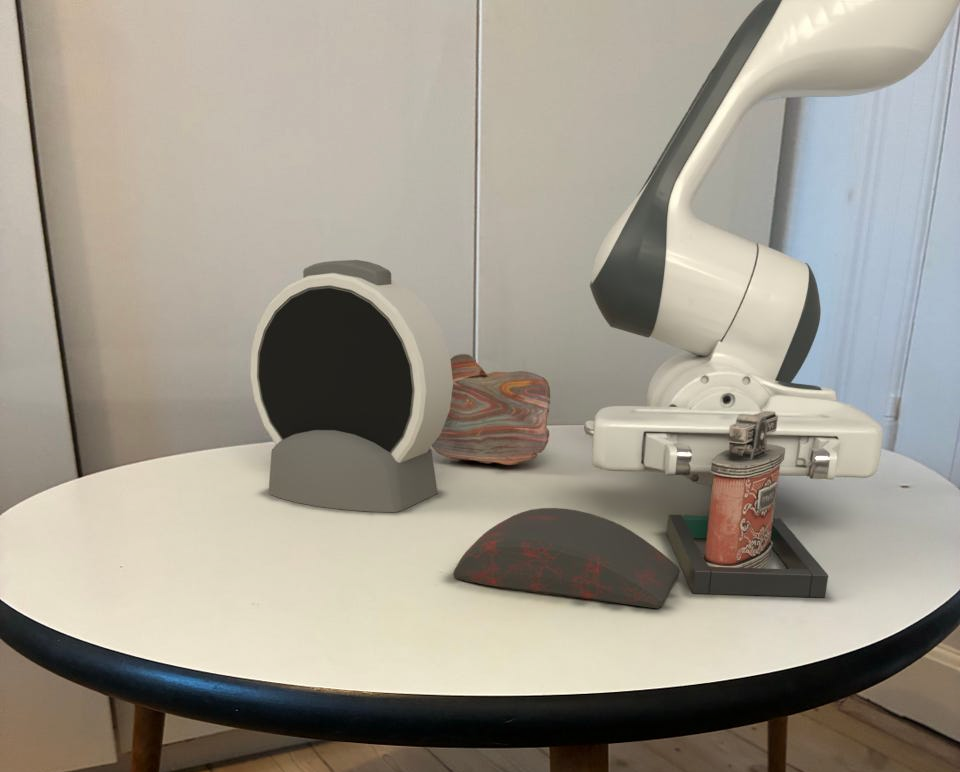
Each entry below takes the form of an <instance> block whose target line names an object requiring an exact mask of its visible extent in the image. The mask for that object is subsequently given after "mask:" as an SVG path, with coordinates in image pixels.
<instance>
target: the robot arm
mask: <svg viewBox="0 0 960 772" xmlns="http://www.w3.org/2000/svg"><path fill="white" fill-rule="evenodd" d="M959 5H960V0H761V1H760V2H759V3H757V5H756V6H755V7H754V8H753V9H752V10H751V11H750V12H749V14H748V15H747V16H746V18H745V19H744V20H743V21H742V23H741V24H740V25H739V27H738V28H737V30H736V31H735V32H734V34H733V36H732V37H731V39H730V40H729V42H728V44H727V45H726V47H725V48H724V50H723V52H722V54H721V55H720V56H719V58H718V60H717V61H716V63H715V65H714V66H713V67H712V69H711V70H710V72H709V73H708V74H707V76H706V78H705V79H704V81H703V83H702V84H701V85H700V88H699V89H698V92H697V93H696V95H695V96H694V98H693V100H692V102H691V103H690V104H689V106H688V108H687V109H686V111H685V113H684V116H683V117H682V118H681V120H680V122H679V124H678V125H677V127H676V129H675V130H674V132H673V133H672V136H671V137H670V139H669V141H668V142H667V144H666V145H665V148H664V149H663V151H662V152H661V154H660V156H659V158H658V159H657V160H656V163H655V165H654V166H653V167H652V170H651V172H650V174H649V175H648V177H647V179H646V181H645V182H644V184H643V186H642V187H641V189H640V190H639V192H638V194H637V195H636V197H635V198H634V200H633V201H632V202H631V204H629V206H628V207H627V208H626V210H625V211H623V213H622V214H621V215H620V216H619V218H618V219H617V220H616V222H615V223H614V224H613V226H612V227H611V228H610V229H609V231H608V233H607V234H606V236H605V237H604V239H603V241H602V243H601V244H600V247H599V250H598V252H597V254H596V257H595V260H594V262H593V266H592V272H591V280H590V282H589V287H590V291H591V294H592V296H593V299H594V302H595V304H596V306H597V308H598V310H599V312H600V313H601V315H602V317H603V318H604V320H605V321H606V323H607V324H608V326H609V327H610V328H613V329H617V330H620V331H624V332H627V333H630V334H634V335H637V336H641V337H644V338H652V339H654V340H657V341H660V342H663V343H665V344H668V345H670V346H672V347H675V348H678V349H679V350H682V352H680V353H678V354H676V355H674V356H671V357H670V358H668V359H666V361H664V362H663V363H661V365H660V366H659V367H658V368H657V369H656V371H655V372H654V373H653V375H652V377H651V380H650V382H649V385H648V388H647V392H646V398H645V405H643V406H642V405H612V406H605V407H602V408H600V409H599V410H598V411H597V413H595V416H594V420H586V421H585V424H584V426H583V430H584V433H585V436H586V437H588V438H590V439H592V448H591V449H592V451H591V452H592V453H591V464H592V466H593V467H594V468H597V469H599V470H603V471H607V472H609V471H610V472H641V473H643V472H645V473H665V474H666V475H667V476H681V477H684V478H685V479H687V480H689V481H691V482H693V483H695V484H698V485H702V486H707V487H712V485H713V476H714V474H713V473H712V472H711V466H712V459H713V458H714V457H715V456H716V455H718V454H720V453H722V452H724V451H726V450H729V443H730V442H728V437H729V428H730V425H733V424H735V422H736V419H737V417H738V415H740V414H746V415H754V414H757V413H760V412H762V411H772V412H776V414H775V415H777V416H778V421H777V429H776V431H774V432H772V433H770V434H767V435H766V437H767V438H768V439H767V444H771V445H777V446H781V447H784V448H785V455H784V461H783V462H782V463H781V464H780V470H779V477H780V476H784V477H785V476H788V477H809V479H811V480H832V481H833V480H834V479H835V478H855V479H867V478H870V477H872V476H874V475H875V474H877V472H878V468H879V465H880V461H881V455H882V449H883V444H884V443H883V442H884V428H883V426H882V424H881V423H879V421H877V420H876V419H875V418H873V417H872V416H870V415H869V414H867V413H866V412H865V411H862V410H861V409H859V408H858V407H856V406H853V405H852V404H849V403H846V402H843V401H839V400H838V397H837V396H838V395H837V392H836V391H835V390H834V389H832V388H829V387H825V386H818V385H814V384H813V385H812V384H805V383H796V382H793V381H794V379H795V378H796V376H797V375H798V374H799V372H800V370H801V368H802V366H803V365H804V363H805V361H806V359H807V357H808V356H809V353H810V351H811V349H812V347H813V344H814V341H815V339H816V337H817V333H818V330H819V326H820V321H821V313H822V312H821V311H822V309H821V301H820V294H819V288H818V283H817V279H816V277H815V274H814V273H813V270H812V268H811V267H810V265H809V264H808V262H803V261H802V260H799V259H797V258H795V257H792V256H790V255H788V254H786V253H784V252H781V251H780V250H776V249H774V248H772V247H770V246H766V245H764V244H761V243H759V242H754V241H751V240H748V239H746V238H744V237H742V236H739V235H737V234H735V233H732V232H729V231H727V230H726V229H725V230H724V229H722V228H720V227H718V226H716V225H712V224H710V223H707V222H705V221H704V220H701V219H700V218H698V217H697V216H696V215H695V214H694V212H693V210H692V202H693V201H694V199H695V197H696V195H697V194H698V192H699V190H700V189H701V187H702V185H704V184H703V183H705V181H706V179H707V178H708V176H709V174H710V173H711V171H712V170H713V167H714V166H715V164H716V162H718V161H717V160H719V157H720V156H721V155H722V153H723V151H724V150H725V148H726V146H727V144H728V142H729V141H730V139H731V137H732V136H733V134H734V133H735V131H736V129H737V128H738V126H739V125H740V123H741V121H742V120H743V119H744V117H745V116H746V115H747V114H748V112H750V111H751V110H752V109H753V108H755V107H757V106H759V105H761V104H764V103H766V102H769V101H774V100H779V99H780V100H781V99H787V98H789V99H790V98H841V97H842V98H843V97H853V96H859V95H863V94H869V93H872V92H876V91H880V90H884V89H885V88H888V87H891V86H893V85H895V84H897V83H899V82H901V81H903V80H904V79H906V78H907V77H909V76H910V75H912V74H913V73H914V72H916V71H917V70H918V69H919V68H920V67H922V65H924V64H925V63H926V62H927V61H928V59H929V58H930V57H931V55H932V54H933V52H934V50H935V49H936V48H937V46H938V44H939V43H940V41H941V39H942V38H943V36H944V34H946V33H945V32H946V31H947V29H948V27H949V25H950V23H951V21H952V19H953V18H954V16H955V14H956V12H957V10H958V7H959Z"/></svg>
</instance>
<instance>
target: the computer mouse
mask: <svg viewBox="0 0 960 772" xmlns="http://www.w3.org/2000/svg"><path fill="white" fill-rule="evenodd" d="M680 573H681V569H680V568H679V567H678V565H677V564H675V562H674V561H672V560H671V559H670V558H669V557H668V556H666V555H665V554H664V553H662V552H661V551H660V550H659V549H658V548H656V547H655V546H653V545H652V544H651V543H649V542H648V541H646V539H644V538H642V537H641V536H639V535H638V534H637V533H635V532H634V531H632V530H630V529H628V528H627V527H626V526H624V525H621V524H620V523H618V522H615V521H613V520H610V519H607V518H605V517H603V516H599V515H596V514H593V513H590V512H589V513H588V512H586V511H581V510H577V509H571V508H562V507H561V508H560V507H540V508H532V509H528V510H525V511H521V512H519V513H516V514H514V515H512V516H510V517H508V518H505V520H502V521H501V522H499V523H497V524H496V525H494V526H492V527H491V528H490V529H488V530H487V531H485V532H484V533H483V534H482V535H481V536H479V538H478V539H477V540H476V541H475V542H474V543H473V544H472V545H471V546H470V547H469V548H468V549H467V550H466V551H465V552H464V554H463V555H462V556H461V558H460V560H459V561H458V563H457V564H456V566H455V568H454V570H453V577H454V578H455V579H458V580H460V581H465V582H469V583H474V584H478V585H479V584H480V585H483V586H489V587H492V588H493V587H494V588H500V589H507V590H513V591H520V592H528V593H536V594H541V595H542V594H543V595H549V596H550V595H551V596H559V597H565V598H573V599H580V600H587V601H596V602H605V603H613V604H621V605H622V604H623V605H629V606H637V607H643V608H650V609H660V608H662V606H663V605H664V604H665V601H666V600H667V598H668V596H669V594H670V592H671V590H672V589H673V586H674V585H675V583H676V581H677V580H678V578H679V576H680Z"/></svg>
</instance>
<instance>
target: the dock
mask: <svg viewBox="0 0 960 772" xmlns="http://www.w3.org/2000/svg"><path fill="white" fill-rule="evenodd" d="M708 522H709V515H697V514H696V515H695V514H690V515H689V514H683V515H682V514H668V515H667V524H666V535H667V538H668V540H669V543H670V544H671V546H672V550H673V551H674V553H675V556H676V558H677V561H678V563H679V565H680V568H681V569H682V572H683V574H684V576H685V579H686V582H687V584H688V586H689V588H690V590H691V593H692V594H699V595H700V594H702V595H708V594H709V595H735V596H761V597H762V596H763V597H764V596H766V597H793V598H794V597H795V598H826V594H827V587H828V580H829V574H828V573H827V571H826V570H824V568H823V567H822V565H820V563H819V562H818V561H817V559H815V557H813V555H812V554H811V553H810V551H809V550H808V549H807V548H806V547H805V546H804V544H803V543H802V542H801V541H800V540H799V538H798V537H797V536H796V535H795V533H793V531H791V529H790V528H789V527H788V526H787V524H786V523H785V522H784V520H783V519H782V518H781V517H773V523H772V530H771V538H770V541H771V542H772V543H773V545H772V550H774V551H775V553H776V555H777V556H778V557H779V559H780V560H781V561H782V562H783V564H784V565H785V566H786V568H768V567H767V568H765V567H764V568H762V567H761V568H735V567H708V565H707V563H706V561H705V559H704V557H703V556H704V554H702V552H701V549H700V547H699V546H698V543H697V541H696V540H695V539H702V540H703V539H706V540H707V531H708Z"/></svg>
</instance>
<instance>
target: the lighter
mask: <svg viewBox="0 0 960 772" xmlns="http://www.w3.org/2000/svg"><path fill="white" fill-rule="evenodd" d="M775 414H776V412H772V411H762V412H760V413H757V414H754V415H746V414H740V415H738V417H737V419H736V422H735V424H733V425H730V428H729V437H728V442H730V443H729V450H726V451H724V452H722V453H720V454H718V455H716V456H715V457H714V458H713V459H712V466H711V472H712V473H713V474H714V476H713V485H712V486H711V495H710V505H709V515H708V516H709V522H708V531H707V539H706V543H705V551H704V554H703V557H704V559H705V561H706V563H707V565H708V567H735V568H762V567H763V566H764V565H765V564H766V563H767V562H768V561H769V560H770V558H771V557H772V551H773V547H772V545H773V543H772V542H771V541H770V538H771V530H772V523H773V518H774V515H775V506H776V501H777V500H776V499H777V492H778V484H779V477H780V476H779V470H780V464H781V463H782V462H783V461H784V455H785V448H784V447H781V446H777V445H771V444H767V439H768V438H767V437H766V435H767V434H770V433H772V432H774V431H776V429H777V421H778V416H777V415H775Z"/></svg>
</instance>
